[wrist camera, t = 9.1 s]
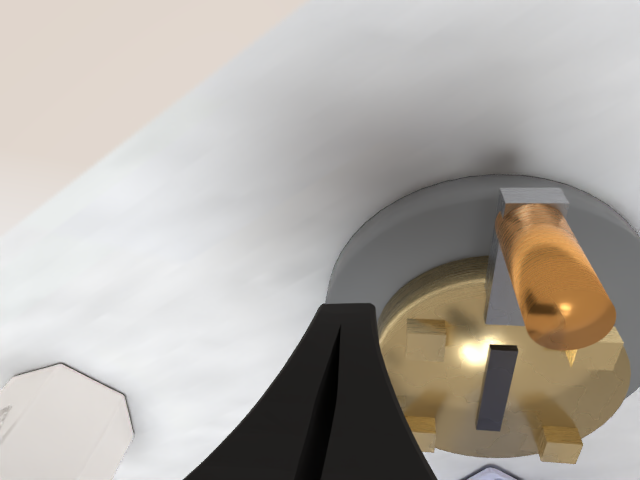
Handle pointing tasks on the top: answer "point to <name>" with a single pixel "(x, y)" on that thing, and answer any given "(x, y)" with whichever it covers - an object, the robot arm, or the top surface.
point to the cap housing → (484, 246)
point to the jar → (61, 427)
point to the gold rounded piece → (508, 341)
